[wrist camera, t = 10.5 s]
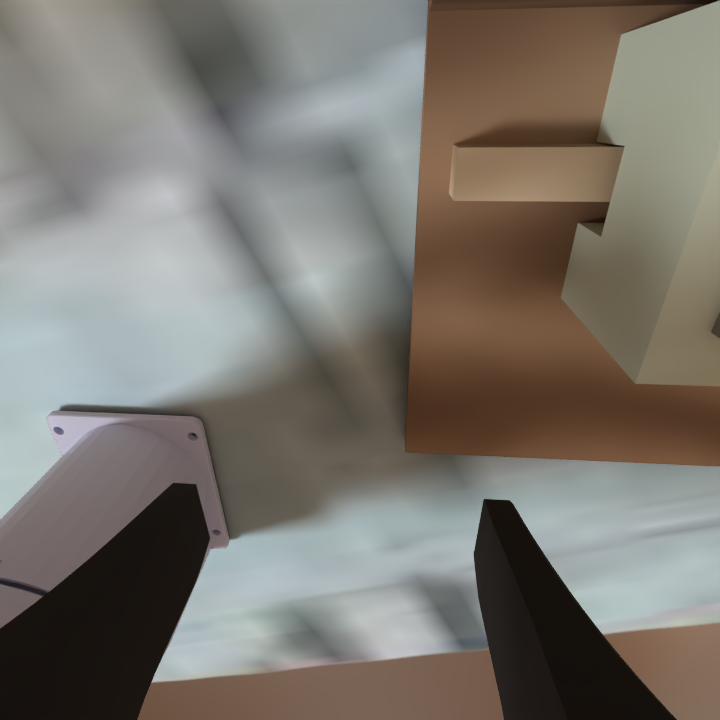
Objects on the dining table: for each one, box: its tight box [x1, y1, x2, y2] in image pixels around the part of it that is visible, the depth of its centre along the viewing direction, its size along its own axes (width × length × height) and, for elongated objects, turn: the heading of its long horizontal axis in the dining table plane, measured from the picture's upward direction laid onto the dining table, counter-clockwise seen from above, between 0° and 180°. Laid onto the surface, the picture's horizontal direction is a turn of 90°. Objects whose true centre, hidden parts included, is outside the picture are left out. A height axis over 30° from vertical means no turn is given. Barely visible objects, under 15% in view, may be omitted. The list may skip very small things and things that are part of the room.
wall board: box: [405, 0, 720, 466], centre depth 14 cm, size 18×16×7 cm
